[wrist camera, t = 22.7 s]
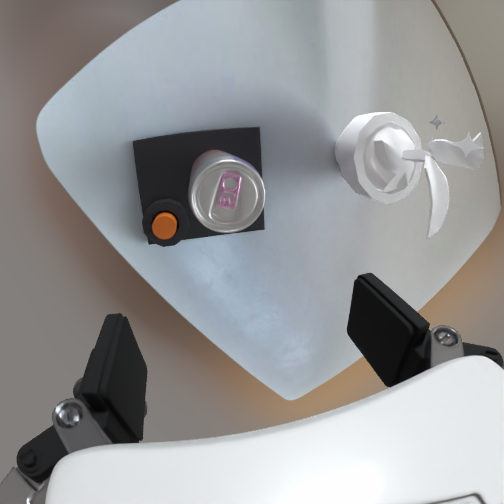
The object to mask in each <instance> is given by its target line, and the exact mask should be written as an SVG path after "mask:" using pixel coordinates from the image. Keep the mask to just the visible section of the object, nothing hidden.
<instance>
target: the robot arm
mask: <svg viewBox="0 0 504 504" xmlns="http://www.w3.org/2000/svg"><path fill="white" fill-rule="evenodd" d="M429 326H430V324H429V323H428V322H427V321H426V320H425V319H424V318H423V317H422V316H420V314H419V313H417V312H416V311H415V310H414V309H413V308H412V307H411V306H410V305H408V304H407V303H406V302H405V301H404V300H403V299H402V298H401V297H399V296H398V295H397V294H396V293H395V292H394V291H392V290H391V289H390V288H389V287H388V286H387V285H385V284H384V283H383V282H382V281H381V280H380V279H378V278H377V277H376V276H375V275H374V274H372V273H367V274H362V275H359V276H358V277H357V279H356V280H355V281H354V287H353V294H352V301H351V308H350V314H349V320H348V326H347V333H348V335H349V337H350V338H351V340H352V341H353V342H354V344H355V345H356V346H357V348H358V349H359V350H360V352H361V353H362V354H363V356H364V357H365V358H366V360H367V361H368V362H369V364H370V365H371V366H372V368H373V369H374V371H375V372H376V373H377V375H378V376H379V377H380V379H381V380H382V381H383V382H384V384H385V385H386V386H387V387H390V388H388V389H386V390H384V391H381V392H379V393H377V394H374V395H372V396H369V397H367V398H364V399H362V400H359V401H356V402H354V403H351V404H348V405H346V406H343V407H340V408H337V409H334V410H331V411H328V412H325V413H322V414H319V415H316V416H312V417H309V418H305V419H301V420H298V421H294V422H291V423H286V424H283V425H278V426H274V427H270V428H265V429H260V430H255V431H251V432H245V433H240V434H233V435H227V436H220V437H213V438H205V439H195V440H184V441H173V442H154V443H139V440H140V441H141V440H142V439H143V423H144V422H143V421H144V407H145V392H146V381H147V366H146V363H145V361H144V359H143V356H142V354H141V352H140V350H139V347H138V344H137V342H136V339H135V337H134V334H133V332H132V329H131V327H130V324H129V321H128V319H127V317H123V316H122V314H120V313H118V314H109V315H107V316H106V318H105V321H104V324H103V326H102V329H101V331H100V334H99V337H98V340H97V343H96V345H95V348H94V349H93V350H92V352H91V355H90V357H89V360H88V363H87V367H86V370H85V373H84V376H83V379H82V383H81V386H80V390H79V393H78V397H77V399H74V398H70V399H66V400H63V401H61V402H60V403H59V404H57V406H56V407H55V409H54V411H53V413H52V421H53V424H54V425H52V426H51V427H50V428H48V429H47V430H45V431H44V432H42V433H41V434H40V435H38V436H37V437H35V438H34V439H32V440H31V441H29V442H28V443H27V444H25V445H23V446H22V448H21V449H20V450H19V452H18V455H17V465H18V467H17V468H15V467H13V468H12V469H11V470H10V472H9V473H8V474H7V476H6V477H5V478H4V480H3V481H2V482H1V484H0V504H504V362H503V359H502V356H501V355H500V353H499V352H498V351H497V350H496V349H493V348H490V347H485V346H480V345H474V344H469V343H464V342H462V339H461V336H460V334H459V333H458V331H456V330H455V329H454V328H451V327H449V326H445V325H439V326H436V327H434V328H433V329H432V330H431V331H430V330H429V329H428V328H429Z"/></svg>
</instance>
